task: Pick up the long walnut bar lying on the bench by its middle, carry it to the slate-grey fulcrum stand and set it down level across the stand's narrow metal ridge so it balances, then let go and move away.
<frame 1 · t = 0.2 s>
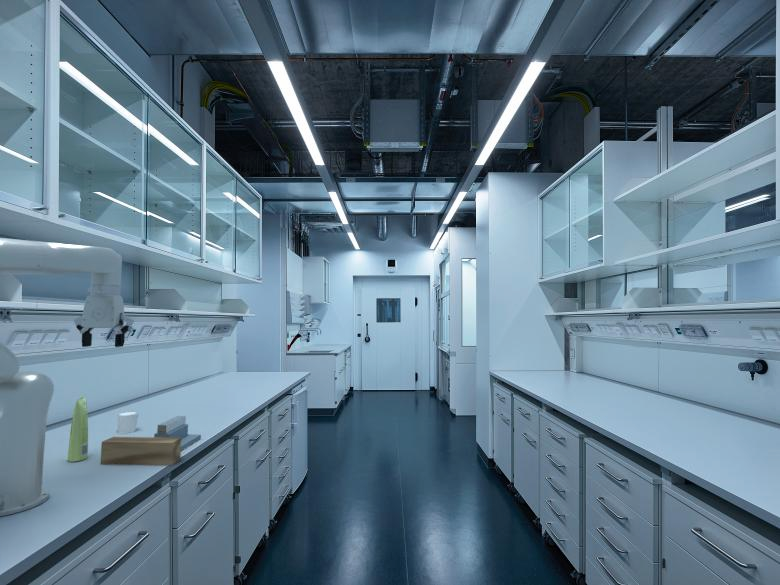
hand: (102, 346, 119), 36 cm above the table, tool pointing down, fingers open, 9 cm apart
walnut bar: (141, 462, 120), on the table
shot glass: (126, 432, 150), on the table
tube: (78, 459, 121), on the table
fulcrum stand: (171, 444, 136), on the table
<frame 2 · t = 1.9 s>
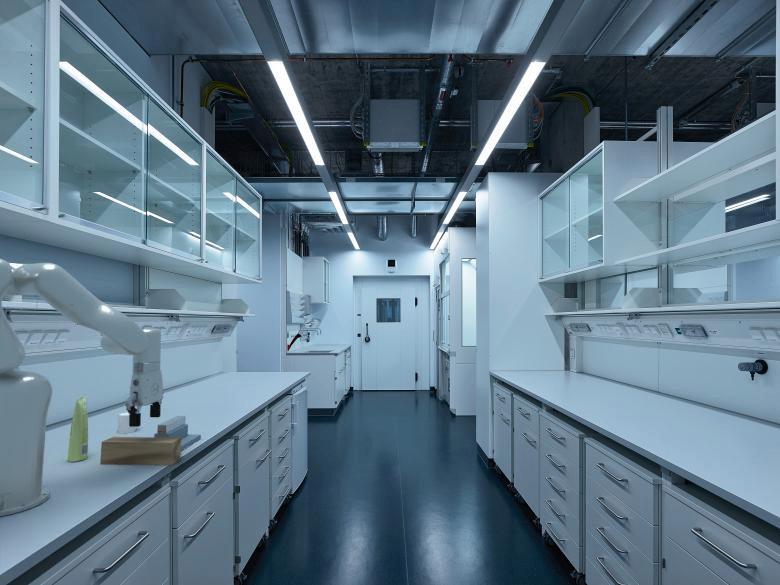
hand: (145, 421, 121), 12 cm above the table, tool pointing down, fingers open, 9 cm apart
nothing on the table moved.
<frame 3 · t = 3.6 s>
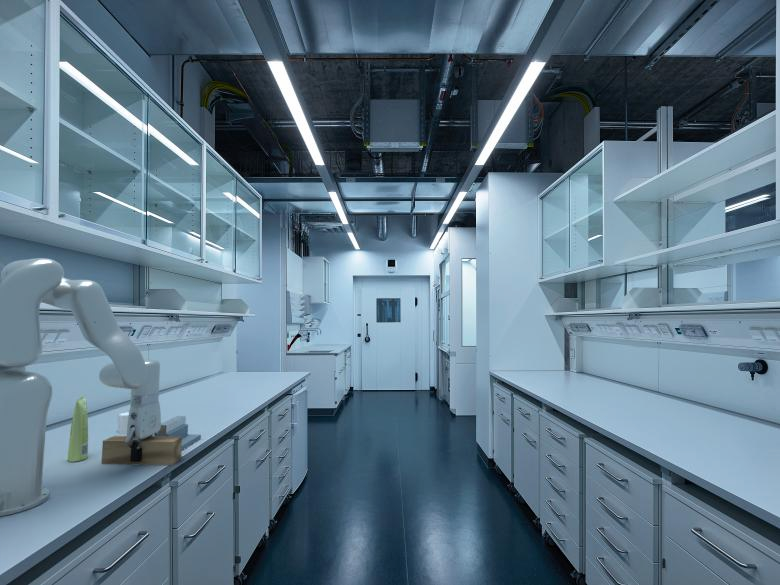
hand: (142, 457, 120), 1 cm above the table, tool pointing down, fingers closed on walnut bar, 4 cm apart
walnut bar: (142, 461, 120), on the table, touching gripper
everything else where it was.
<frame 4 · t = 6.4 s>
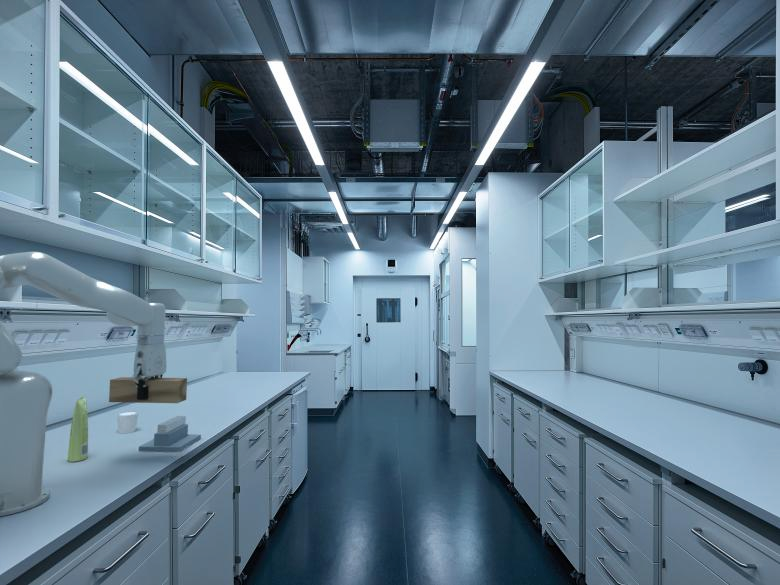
hand: (148, 397, 123), 20 cm above the table, tool pointing down, fingers closed on walnut bar, 4 cm apart
walnut bar: (148, 400, 123), point 18 cm above the table, touching gripper
everything else where it was.
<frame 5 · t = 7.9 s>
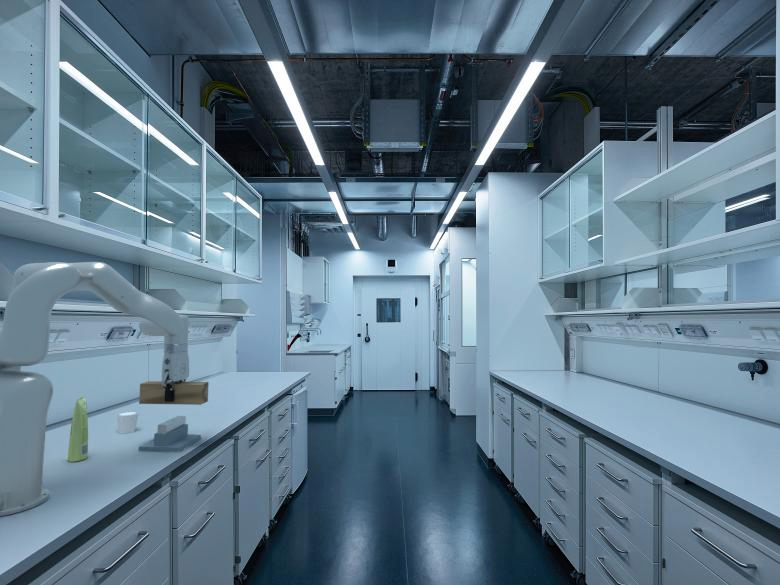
hand: (174, 399, 137), 16 cm above the table, tool pointing down, fingers closed on walnut bar, 4 cm apart
walnut bar: (174, 402, 137), point 15 cm above the table, touching gripper
everything else where it was.
when the fingers open (10 cm above the table, at t = 9.3 s): walnut bar stays where it is, resting on fulcrum stand.
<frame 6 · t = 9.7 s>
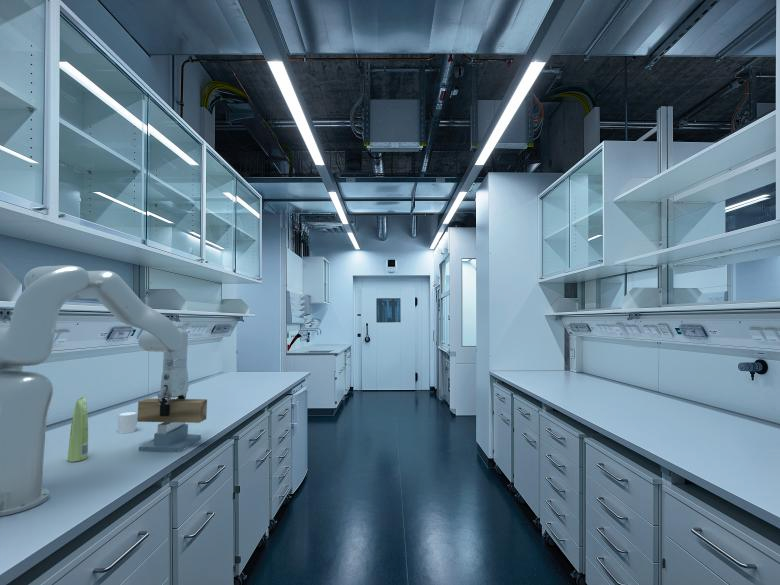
hand: (172, 412, 137), 11 cm above the table, tool pointing down, fingers open, 9 cm apart
walnut bar: (172, 420, 136), point 8 cm above the table, touching fulcrum stand
everything else where it was.
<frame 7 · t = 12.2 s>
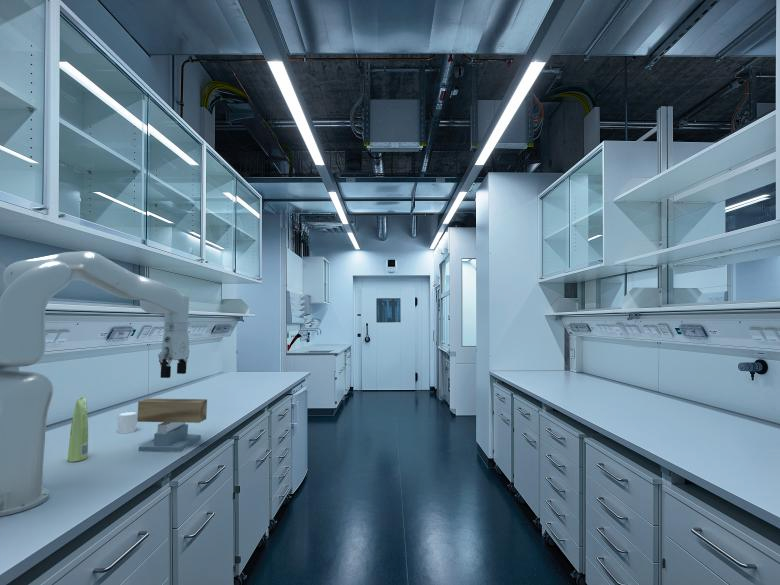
hand: (173, 375, 137), 24 cm above the table, tool pointing down, fingers open, 9 cm apart
nothing on the table moved.
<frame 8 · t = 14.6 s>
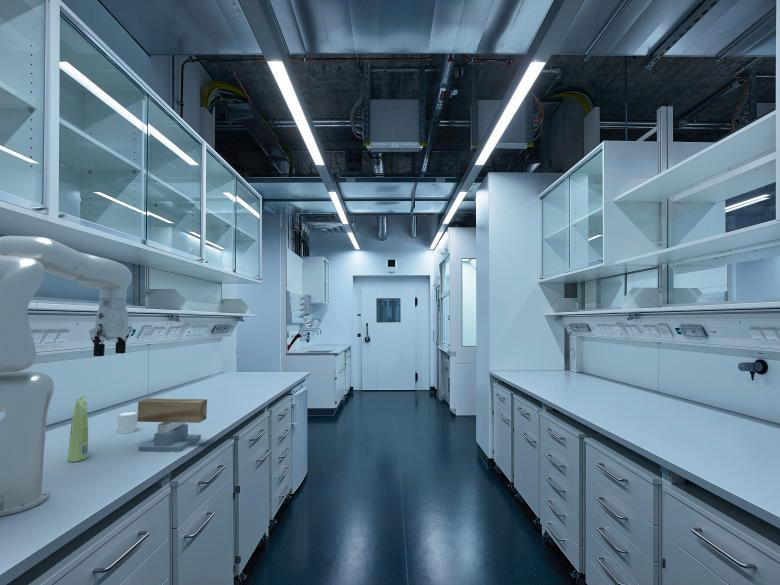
hand: (109, 354, 130), 32 cm above the table, tool pointing down, fingers open, 9 cm apart
nothing on the table moved.
at the end: walnut bar 0.0 cm off-centre on the fulcrum stand, point 8.5 cm above the fulcrum stand's base; walnut bar tilted 0°; the gripper is holding nothing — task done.
